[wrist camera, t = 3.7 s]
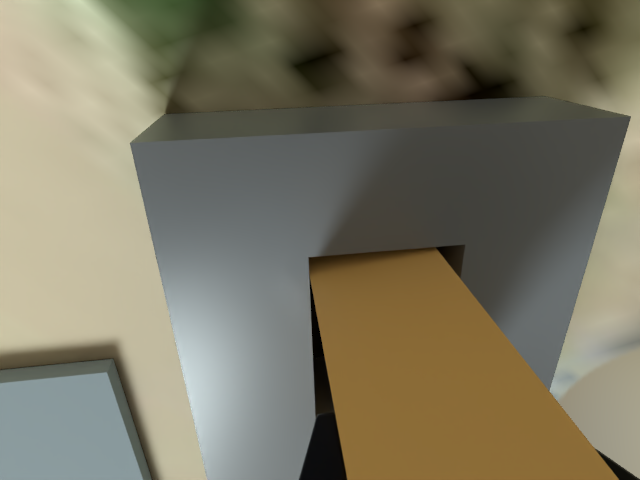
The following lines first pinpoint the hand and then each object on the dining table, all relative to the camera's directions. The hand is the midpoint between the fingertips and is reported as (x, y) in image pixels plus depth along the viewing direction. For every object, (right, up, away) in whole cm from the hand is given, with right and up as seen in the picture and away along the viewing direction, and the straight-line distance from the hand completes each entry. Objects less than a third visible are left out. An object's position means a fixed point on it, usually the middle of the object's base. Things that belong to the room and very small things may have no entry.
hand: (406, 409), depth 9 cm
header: (0, -3, +7) cm, 7 cm away
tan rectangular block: (-1, +2, +4) cm, 5 cm away
